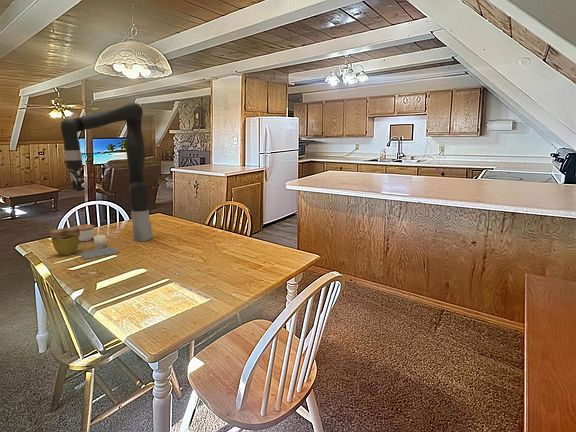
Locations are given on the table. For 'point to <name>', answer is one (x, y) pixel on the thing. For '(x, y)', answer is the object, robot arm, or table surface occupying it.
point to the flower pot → (66, 245)
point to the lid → (64, 233)
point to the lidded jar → (86, 232)
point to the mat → (98, 252)
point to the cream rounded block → (100, 241)
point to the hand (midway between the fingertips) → (77, 190)
